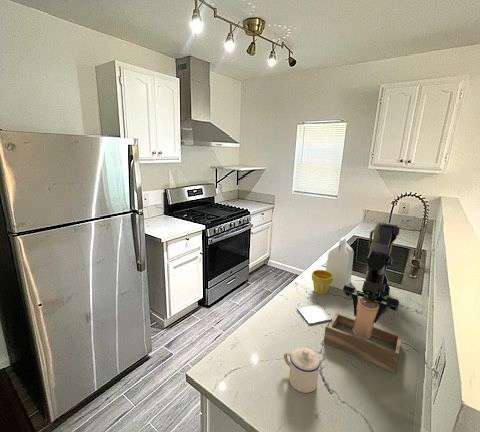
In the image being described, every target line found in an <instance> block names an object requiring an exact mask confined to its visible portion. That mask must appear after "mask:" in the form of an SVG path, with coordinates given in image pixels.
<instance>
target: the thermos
mask: <svg viewBox="0 0 480 432" xmlns="http://www.w3.org/2000/svg"><path fill="white" fill-rule="evenodd" d="M383 223H385V222H378V223H376V225H375V227H374V229H373V230H371V231H370V232H369V239H368V246H367V247H368V249H369V253H370V252H372V249H373V247H374V246H376V245H377V244H378V241H379V238H380V236H379V234H380V232H378V229H379V224H383ZM385 224H387V223H385ZM393 244H394V242H393V243H392V244H391V249H390V254H392V250H393V246H394V245H393ZM369 253H368V254H369ZM367 273H368V269H367V271H366V272H365V278H364V281H366V277H367Z"/></svg>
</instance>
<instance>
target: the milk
mask: <svg viewBox="0 0 480 432" xmlns="http://www.w3.org/2000/svg"><path fill="white" fill-rule="evenodd" d="M346 240H347V239H346V237H345V236H342V237H341V238H340V239H339V243H337V244H336V245H335V246H333V247H332V248H331V249H330V250H329V251H328V255H327V260H326V268H325V271H328V272H330V273H331V274H332V275H333V281H332V283H331V284H330V287H332V288H336V289H339V290H341V291H343V288H344V285H346V284H347V285H350V283H352V274H353V273H352V272H353V265H354V264H353V262H354V250H353V247H351V246H350V244H349V243H348V242H347V241H346Z"/></svg>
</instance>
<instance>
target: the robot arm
mask: <svg viewBox="0 0 480 432" xmlns="http://www.w3.org/2000/svg"><path fill="white" fill-rule="evenodd" d="M382 223H383V224H379V229H378V232H380V234H379V236H380V238H379V241H378V244H377V245H376V246H374V247H373V249H372V252H370V251H369V252H370V253H368V255H367V257H366V265H367V267H366V268H367V270H368V273H367V277H366V276H365V277H366V281H365V280H363V285H362V289H361V291H360V290H358V289H357V288H356V286H353V285H350V284H349V285H347V284H346V285H344V288H343V290H342V292H343V295H344V296H347V297H349V299H350V300H352V304H353V305H352V306H353V317H356V312H357V307H358V299H359V298H361V297H366V298H370V299H373V300H375V301H376V302H377V303H378V304H379V309H378V310H377V314H376V318H375V322H374V324H376V323H377V322H378V321H379V319H380V318H381V317H382V315H384V314H385V312H386V311H388V312H390V310H392V311H395V312H398V310H399V306H400V300H399V299H397V298H394V297H391V296H390V293H391V292H390V291H391V288H390V284H389V279H388V277H387V269H388V267H389V266H392V263H393V257H392V255H390V254H391V253H390V249H391V244H392V243H393V244H394V242H395V241H396V240H397V238H398V236H399V235H400V231H401V227H398V225H396V224H392V223H391V224H389V223H386V224H385V222H382ZM385 297H386V298H385Z"/></svg>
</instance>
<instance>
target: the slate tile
mask: <svg viewBox="0 0 480 432" xmlns="http://www.w3.org/2000/svg"><path fill="white" fill-rule="evenodd" d="M296 310H297V312H298V313H299V314H300V316H302V318H303V319H304V320H305V322H306V323H308V326H309V325H310V326H311V325H315V324H321V323H324V322H325V323H326V322H332V320H333V318H332V317H331V316H330V315H329V314H328V313H327V312H326V311H325V310H324V309H323V308H322V307H321V306H320V305H319V304H314V305H307V306H301V307H297V308H296Z"/></svg>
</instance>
